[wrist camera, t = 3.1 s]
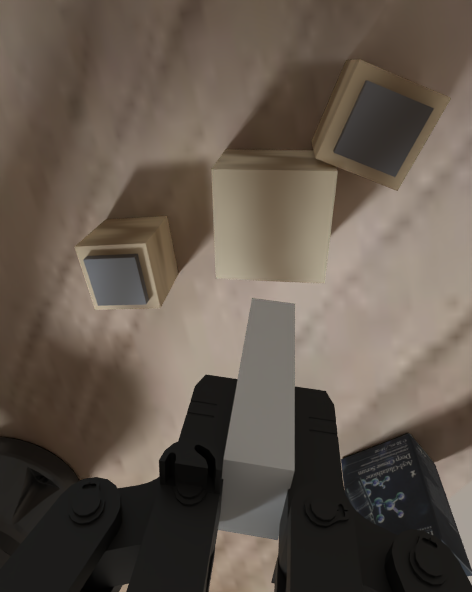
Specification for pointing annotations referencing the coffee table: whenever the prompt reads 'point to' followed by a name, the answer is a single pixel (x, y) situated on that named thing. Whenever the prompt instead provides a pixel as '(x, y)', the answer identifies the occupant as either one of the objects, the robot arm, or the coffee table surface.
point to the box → (402, 492)
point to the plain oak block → (272, 215)
